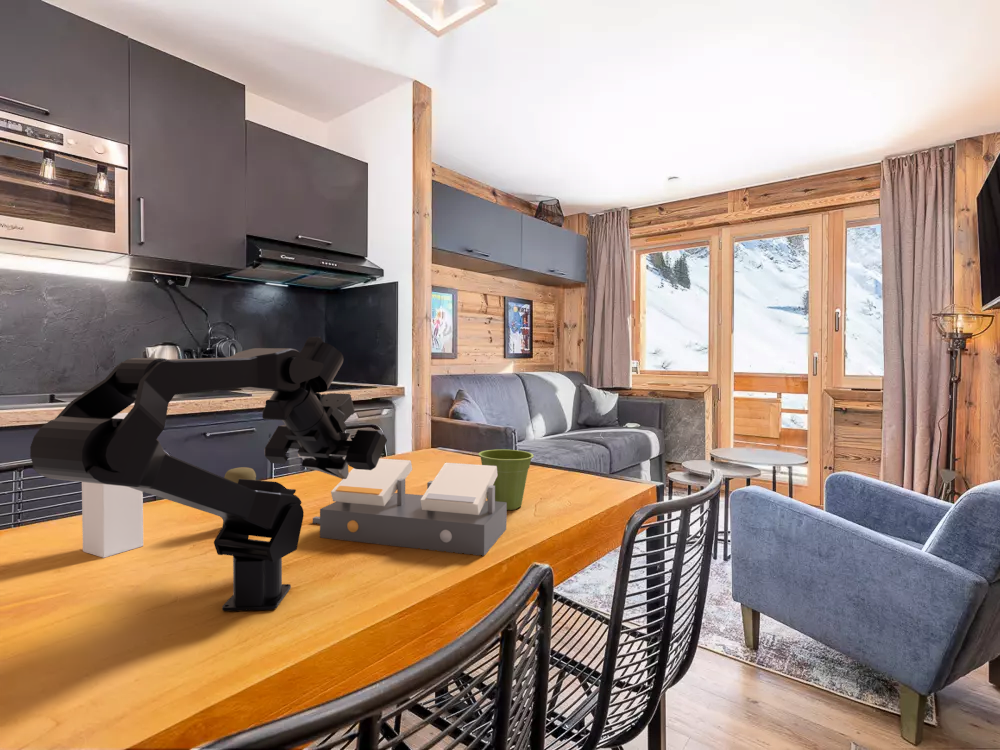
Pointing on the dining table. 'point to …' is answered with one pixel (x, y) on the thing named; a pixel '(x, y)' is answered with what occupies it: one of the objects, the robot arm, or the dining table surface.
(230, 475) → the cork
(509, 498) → the plant pot
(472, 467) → the white rocker
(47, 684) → the dining table surface
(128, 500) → the milk
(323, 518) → the rocker switch box
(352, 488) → the orange striped rocker plate
